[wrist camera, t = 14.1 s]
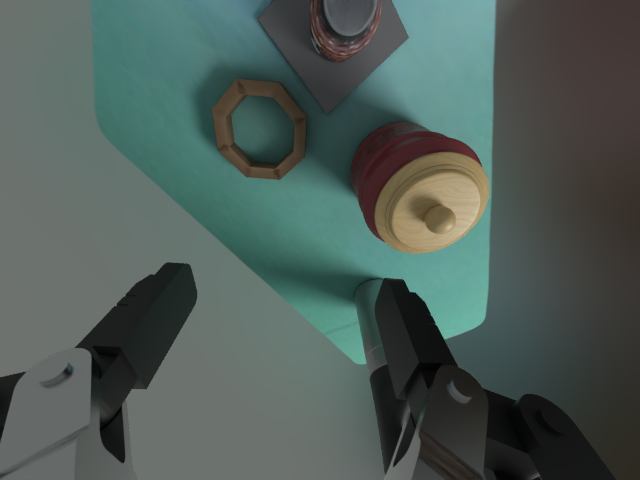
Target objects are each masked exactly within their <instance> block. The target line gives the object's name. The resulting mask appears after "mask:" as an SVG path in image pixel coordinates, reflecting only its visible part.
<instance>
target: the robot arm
mask: <svg viewBox="0 0 640 480" xmlns="http://www.w3.org/2000/svg"><path fill="white" fill-rule="evenodd" d="M354 298H355V304H356V309H357V315H358V320H359V325H360V331H361V336H362V341H363V347H364V352H365V357H366V362H367V367H368V373H369V378H370V383H371V389H372V393H373V399H374V404H375V410H376V415H377V421H378V428H379V434H380V441H381V449H382V456H383V463H384V471H385V477H384V479H383V480H541V479H540V478H539V476H541V478H542V480H616V479H615V477H614V476H613V475H612V473H611V472H610V471H609V469H608V468H607V467H606V465H605V464H604V463H603V461H602V460H601V459H600V457H599V456H598V454H597V453H596V452H595V450H594V449H593V447H592V446H591V445H590V443H589V442H588V441H587V439H586V438H585V437H584V435H583V434H582V433H581V431H580V430H579V428H578V427H577V426H576V424H575V423H574V422H573V421H572V420H571V418H570V417H569V416H568V415H567V414H566V413H564V412H563V411H562V410H561V409H560V408H559V407H558V406H556V405H555V404H553V403H552V402H550V401H549V400H547V399H545V398H543V397H541V396H538V395H534V394H525V395H523V396H522V397H521V398H519V399H518V400H517V401H516V400H513V399H510V398H507V397H505V396H502V395H499V394H496V393H494V392H491V391H489V390H486V389H484V388H483V387H482V386H481V384H480V383H479V382H478V381H477V380H476V379H475V378H474V377H473V376H472V375H471V374H470V373H468V372H467V371H465V370H464V369H462V368H460V367H458V365H457V364H456V362H455V360H454V358H453V356H452V354H451V352H450V350H449V348H448V346H447V344H446V343H445V340H444V338H443V337H442V335H441V333H440V331H439V329H438V327H437V326H436V325H435V321H434V319H433V317H432V316H431V313H430V311H429V309H428V307H427V306H426V304H425V302H424V301H423V300H422V299H421V298H420V297H419V296H418V295H417V294H416V293H414V292H409V290H408V288H407V285H406V283H405V281H404V280H403V279H391V278H384V279H383V280H382V279H375V280H370V281H367V282H365V283H363V284H361V285H360V286H359V287H358V288H357V289H356V291H355V294H354ZM196 300H197V289H196V286H195V281H194V277H193V274H192V270H191V267H190V265H189V264H184V263H165V264H164V265H163V266H162V267H161V268H160V270H159V271H158V272H157V273H156V274H155V275H149V276H147V277H146V278H144V279H143V280H141V281H139V282H138V283H136V284H135V286H133V287H132V288H131V290H130V291H129V292H128V293H127V294H126V296H125V297H123V298H122V299H121V300H120V301H119V302H118V303H117V306H114V307H113V308H112V309H111V311H110V312H109V313H108V314H107V315H106V316H105V317H104V318H103V319H102V320H101V321H100V322H99V323H98V324H97V325H96V326H95V327H94V328H93V329H92V331H91V332H90V333H89V334H88V335H87V336H86V337H85V338H84V339H83V340H82V341H81V342H80V343H79V344H78V345H77V346H76V347H75V348H72V349H67V350H63V351H60V352H57V353H55V354H53V355H51V356H48V357H47V358H45V359H43V360H42V361H40V362H38V363H37V364H36V365H34V366H33V367H32V368H30V369H29V370H28V371H27V372H22V373H18V374H13V375H9V376H5V377H0V480H137V477H136V474H135V472H134V470H133V465H132V458H131V446H130V434H129V423H128V410H127V402H126V400H125V399H126V397H127V396H128V394H129V393H130V391H131V389H147V387H148V385H149V384H150V382H151V380H152V379H153V377H154V375H155V373H156V371H157V370H158V368H159V366H160V365H161V363H162V361H163V360H164V358H165V356H166V354H167V353H168V351H169V349H170V347H171V346H172V344H173V342H174V340H175V339H176V337H177V335H178V333H179V332H180V330H181V328H182V327H183V325H184V323H185V321H186V320H187V318H188V316H189V314H190V313H191V311H192V309H193V307H194V306H195V303H196ZM405 419H406V421H405ZM404 421H405V424H404V426H403V423H404ZM402 426H403V429H402Z"/></svg>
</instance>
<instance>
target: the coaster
mask: <svg viewBox="0 0 640 480" xmlns="http://www.w3.org/2000/svg"><path fill="white" fill-rule="evenodd" d="M258 20H259V22H260V23H261V25H262V26H263V27H264V29H265V30H266V31H267V33H268V34H269V36H270V37H271V38H272V40H273V41H274V42H275V44H276V45H277V47H278V48H279V49H280V51H281V52H282V53H283V55H284V56H285V58H286V59H287V60H288V62H289V63H290V64H291V66H292V67H293V68H294V70H295V71H296V73H297V74H298V75H299V77H300V78H301V79H302V81H303V82H304V84H305V85H306V86H307V88H308V89H309V90H310V92H311V93H312V95H313V96H314V97H315V99H316V100H317V101H318V103H319V104H320V106H321V107H322V108H323V110H324V111H325V112H326V114H329V113H330V112H331V111H332V110H333V109H334V108H335V107H336V106H337V105H338V104H339V103H340V102H341V101H342V100H343V99H344V98H345V97H347V96H348V95H349V94H350V93H351V92H352V91H353V90H354V89H355V88H356V87H357V86H358V85H359V84H360V83H361V82H362V81H363V80H364V79H366V78H367V77H368V76H369V75H370V74H371V73H372V72H373V71H374V70H375V69H376V68H377V67H378V66H379V65H380V64H381V63H382V62H384V61H385V60H386V59H387V58H388V57H389V56H390V55H391V54H392V53H393V52H394V51H395V50H396V49H397V48H398V47H399V46H400V45H402V44H403V43H404V42H405V41H406V40H407V39H408V38H409V37H408V35H407V33H406V30H405V28H404V26H403V24H402V22H401V20H400V18H399V15H398V13H397V11H396V9H395V7H394V5H393V3H392V0H382V7H381V15H380V20H379V23H378V26H377V29H376V31H375V33H374V35H373V37H372V38H371V40H370V41H369V43H368V44H367V45H366V46H365V47H364V48H363V49H362V50H361V51H359V52H358V53H357V54H355V55H354V56H352V57H351V58H349V59H347V60H346V61H343V62H339V63H334V62H330V61H328V60H326V59H324V58H323V57H321V55H320V54H319V53H318V52H317V50H316V49H315V47H314V45H313V42H312V39H311V34H310V0H272V2H271V3H270V4H269V6H268V7H267V8H266V10H265V11H264V12H263V14H262V15H261V16H260V17H259V19H258Z"/></svg>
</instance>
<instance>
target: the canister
mask: <svg viewBox="0 0 640 480" xmlns="http://www.w3.org/2000/svg"><path fill="white" fill-rule="evenodd" d="M351 183H352V187H353V189H354V192H355V194H356V196H357V197H358V201H359V206H360V208H361V211H362V213H363V215H364V219H365V222H366V224H367V226H368V228H369V229H370V231H371V232H372V233H373V234H374V235H375V236H376V237H377V238H379V239H380V240H382V241H383V242H385V243H387V244H388V245H389V246H391V247H392V248H394V249H396V250H399V251H402V252H406V253H427V252H432V251H436V250H439V249H442V248H444V247H446V246H448V245H450V244H452V243H454V242H456V241H457V240H459V239H460V238H461V237H463V236H464V235H465V234H466V233H467V232H469V231H470V230H471V229H472V227H473V226H474V225H475V224H476V223H477V221H478V220H479V219H480V217H481V215H482V214H483V212H484V209H485V207H486V204H487V201H488V197H489V182H488V178H487V175H486V173H485V171H484V169H483V168H482V165H481V162H480V160H479V158H478V156H477V155H476V153H475V152H474V151H473V150H472V149H471V148H470V147H469V146H468V145H466V144H465V143H463V142H461V141H459V140H456V139H453V138H448V137H447V136H445V135H443V134H440V133H437V132H432V131H429V130H428V129H426V128H425V127H423V126H420V125H418V124H415V123H410V122H397V123H392V124H388V125H385V126H383V127H381V128H379V129H377V130H375V131H374V132H372V133H371V134H370V135H369V136H367V137H366V138H365V140H364V141H363V142H362V143H361V144H360V146H359V147H358V149H357V151H356V153H355V155H354V158H353V162H352V166H351Z"/></svg>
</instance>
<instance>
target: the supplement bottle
mask: <svg viewBox="0 0 640 480" xmlns="http://www.w3.org/2000/svg"><path fill="white" fill-rule="evenodd" d="M381 7H382V0H310V34H311V39H312V42H313V45H314V47H315V49H316V50H317V52H318V53H319V54H320V55H321V57H323V58H324V59H326V60H328V61H330V62H334V63H339V62H343V61H346V60H347V59H349V58H351V57H352V56H354V55H355V54H357V53H358V52H359V51H361V50H362V49H363V48H364V47H365V46H366V45H367V44H368V43H369V41H370V40H371V38H372V37H373V35H374V33H375V31H376V29H377V26H378V23H379V20H380V15H381Z"/></svg>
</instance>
